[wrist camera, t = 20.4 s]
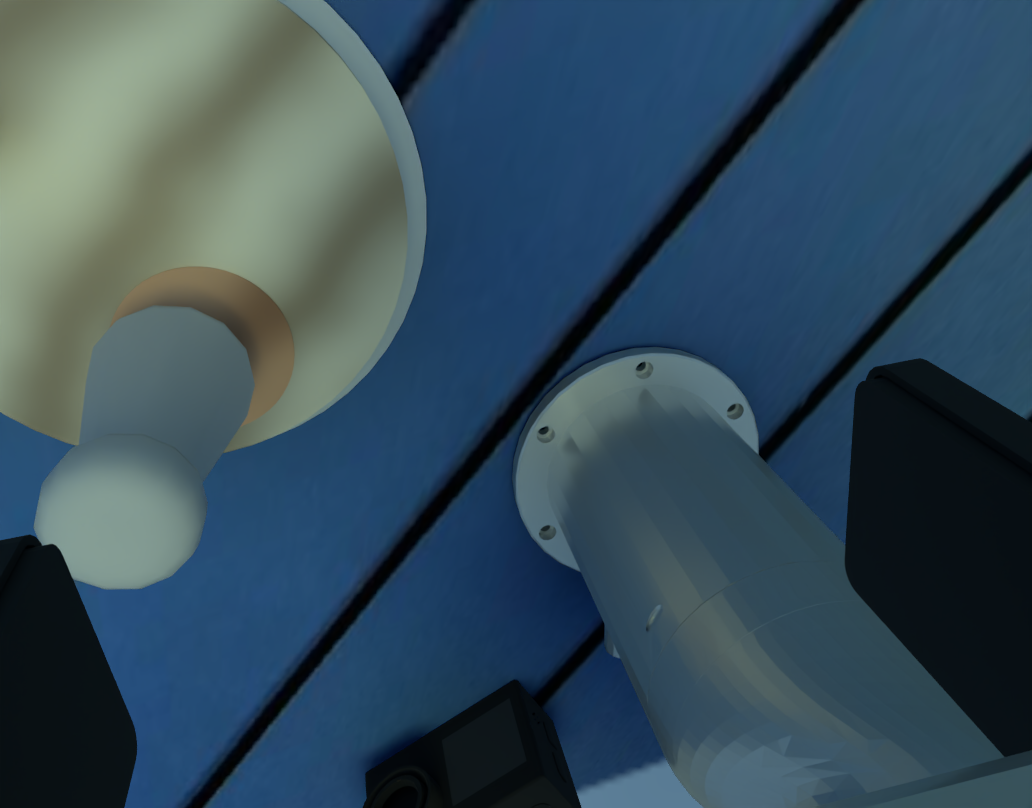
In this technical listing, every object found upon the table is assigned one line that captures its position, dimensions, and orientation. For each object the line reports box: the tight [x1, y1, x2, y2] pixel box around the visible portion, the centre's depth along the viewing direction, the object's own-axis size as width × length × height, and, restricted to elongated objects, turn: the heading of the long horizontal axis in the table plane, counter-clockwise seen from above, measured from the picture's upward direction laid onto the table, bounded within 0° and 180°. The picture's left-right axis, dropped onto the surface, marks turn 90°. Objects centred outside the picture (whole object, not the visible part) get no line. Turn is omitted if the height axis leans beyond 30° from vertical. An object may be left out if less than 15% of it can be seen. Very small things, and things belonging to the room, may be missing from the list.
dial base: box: [271, 0, 426, 438], centre depth 34 cm, size 21×21×1 cm
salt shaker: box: [34, 305, 255, 589], centre depth 29 cm, size 6×6×13 cm
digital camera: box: [363, 680, 581, 808], centre depth 47 cm, size 10×5×7 cm, turn 121°
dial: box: [0, 0, 408, 453], centre depth 31 cm, size 19×19×7 cm
